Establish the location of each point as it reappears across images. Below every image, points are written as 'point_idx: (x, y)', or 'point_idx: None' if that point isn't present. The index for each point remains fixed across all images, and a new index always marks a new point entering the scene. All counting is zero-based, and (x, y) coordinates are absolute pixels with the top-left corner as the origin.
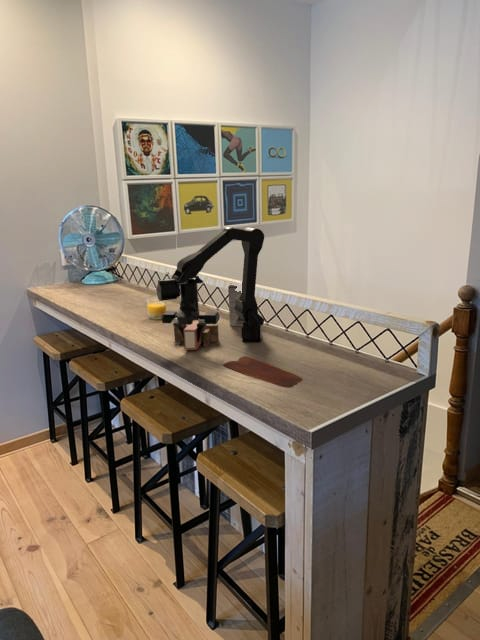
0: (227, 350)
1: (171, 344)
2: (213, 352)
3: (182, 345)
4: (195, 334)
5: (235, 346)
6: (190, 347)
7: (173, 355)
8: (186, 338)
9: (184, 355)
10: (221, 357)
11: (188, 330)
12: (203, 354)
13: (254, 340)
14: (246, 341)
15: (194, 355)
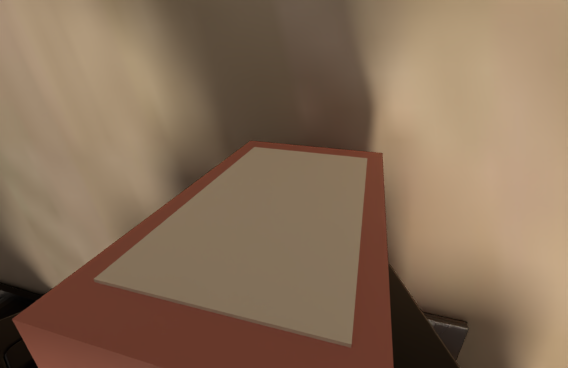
0: (62, 176)
1: (555, 359)
2: (128, 136)
3: (431, 315)
4: (118, 240)
5: (58, 241)
6: (306, 154)
7: (537, 21)
8: (336, 220)
9: (374, 36)
10: (20, 11)
11: (210, 362)
12: (184, 83)
13: (2, 294)
14: (37, 295)
15: (259, 46)
